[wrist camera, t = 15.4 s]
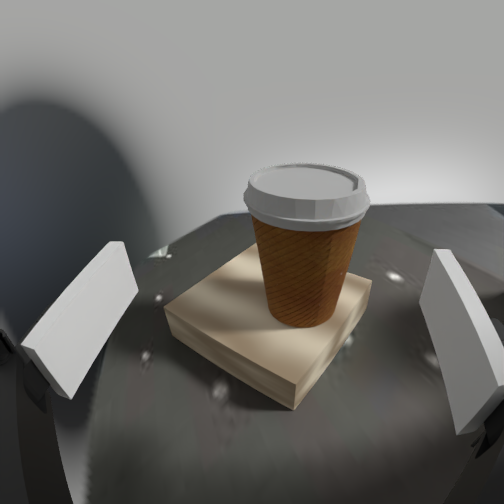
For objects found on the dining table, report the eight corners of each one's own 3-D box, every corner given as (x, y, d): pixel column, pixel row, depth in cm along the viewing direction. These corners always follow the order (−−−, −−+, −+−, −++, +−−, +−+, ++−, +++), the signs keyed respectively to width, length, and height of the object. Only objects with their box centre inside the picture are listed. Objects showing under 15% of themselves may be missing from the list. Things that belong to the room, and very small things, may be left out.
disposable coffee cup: (305, 360, 23) (318, 216, 17) (229, 303, 29) (216, 179, 23) (371, 303, 28) (393, 181, 22) (298, 263, 34) (301, 156, 28)
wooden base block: (259, 268, 41) (257, 242, 39) (365, 309, 33) (371, 280, 31) (172, 335, 31) (163, 306, 29) (293, 410, 23) (296, 384, 21)
